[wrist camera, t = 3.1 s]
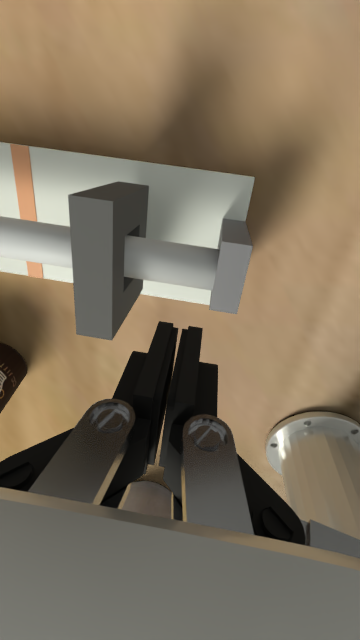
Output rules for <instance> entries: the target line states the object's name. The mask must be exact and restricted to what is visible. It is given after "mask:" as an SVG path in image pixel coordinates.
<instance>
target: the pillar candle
mask: <svg viewBox="0 0 360 640" xmlns="http://www.w3.org/2000/svg"><path fill="white" fill-rule="evenodd" d="M171 496H172V493H171V492H170V491H169V490H168V489H167V488H165V487H164V486H162V485H159V484H157V483H153V482H151V481H140V482H132V484H131V488H130V491H129V493H128V496H127V498H126V500H125V503H124V505H123V507H122V509H121V510H126V511H132V512H137V513H142V514H147V515H153V516H158V517H163V518H168V519H171Z"/></svg>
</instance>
